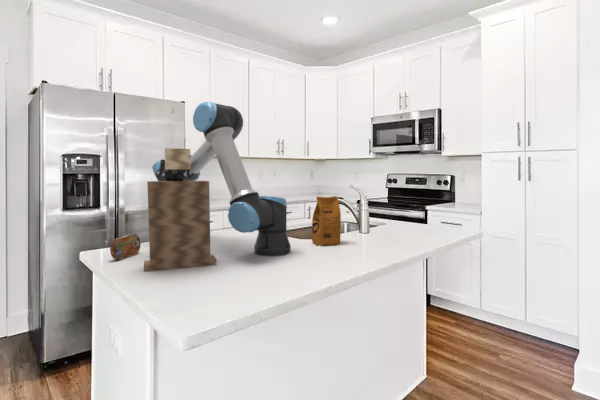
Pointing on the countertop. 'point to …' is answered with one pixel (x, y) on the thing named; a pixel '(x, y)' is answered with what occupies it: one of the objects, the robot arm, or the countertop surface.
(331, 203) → the coffee package
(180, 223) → the stand
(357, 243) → the countertop surface
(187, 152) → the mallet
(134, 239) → the tin
